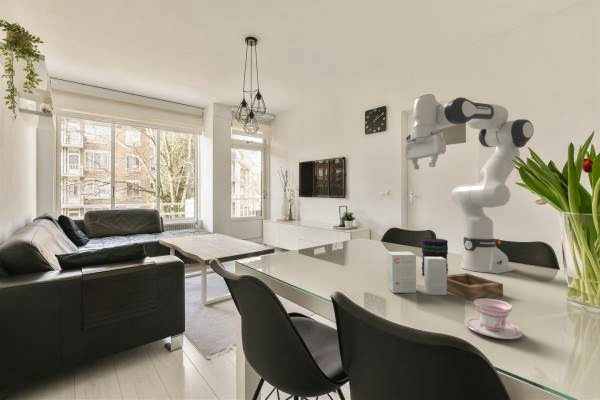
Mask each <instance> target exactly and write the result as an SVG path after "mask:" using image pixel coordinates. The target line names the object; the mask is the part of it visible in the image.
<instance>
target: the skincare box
mask: <svg viewBox="0 0 600 400" xmlns="http://www.w3.org/2000/svg"><path fill="white" fill-rule="evenodd" d="M447 268H448V267H446V259H445V258H443V257H424V276H423V277H424V292H425V293H426V294H427V295H428V296H429V295H432V296H433V295H434V296H436V295H437V296H447V295H448V293H447V275H448V274H447Z"/></svg>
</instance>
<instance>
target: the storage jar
mask: <svg viewBox="0 0 600 400" xmlns="http://www.w3.org/2000/svg"><path fill="white" fill-rule="evenodd" d="M448 242H449V241H448V240H447V239H445V238H436V237H435V238H430V237H429V238H428V237H427V238H422V239H421V249H422V250H421V253H422V261H421V271H422V273H421V276H422V277H424V257H443V258H445V259H446V267H447V275H449V274H448V272H449V268H448V267H449V265H448V253H449V252H448V250H449V247H448V246H449V245H448Z"/></svg>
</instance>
